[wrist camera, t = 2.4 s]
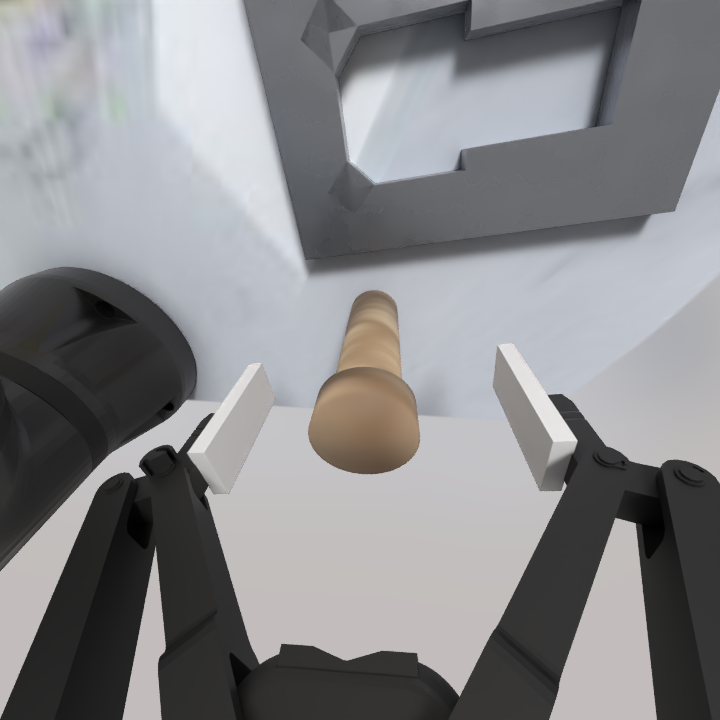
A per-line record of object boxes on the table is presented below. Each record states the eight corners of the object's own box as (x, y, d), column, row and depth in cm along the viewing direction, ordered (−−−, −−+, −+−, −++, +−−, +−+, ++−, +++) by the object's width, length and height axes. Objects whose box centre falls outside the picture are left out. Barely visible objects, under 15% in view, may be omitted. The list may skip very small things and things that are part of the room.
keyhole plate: (310, 254, 22) (305, 259, 21) (241, -49, 14) (227, -69, 13) (655, 207, 19) (674, 211, 18) (795, -208, 11) (845, -253, 10)
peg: (349, 341, 26) (321, 475, 15) (338, 286, 23) (295, 400, 12) (407, 336, 25) (422, 472, 14) (402, 279, 22) (417, 392, 12)
